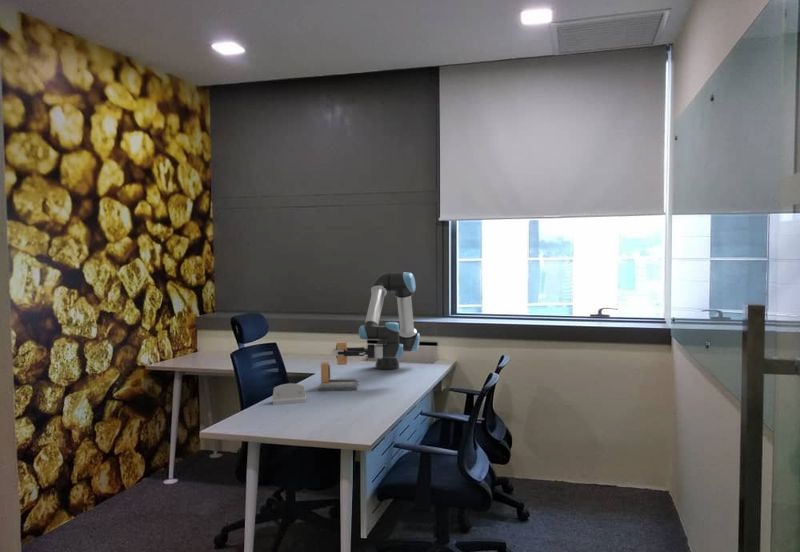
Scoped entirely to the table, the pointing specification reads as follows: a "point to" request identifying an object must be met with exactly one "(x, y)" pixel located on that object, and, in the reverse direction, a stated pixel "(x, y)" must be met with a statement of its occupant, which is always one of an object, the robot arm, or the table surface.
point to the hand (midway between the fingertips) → (332, 352)
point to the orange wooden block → (341, 358)
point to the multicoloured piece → (334, 381)
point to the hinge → (289, 394)
